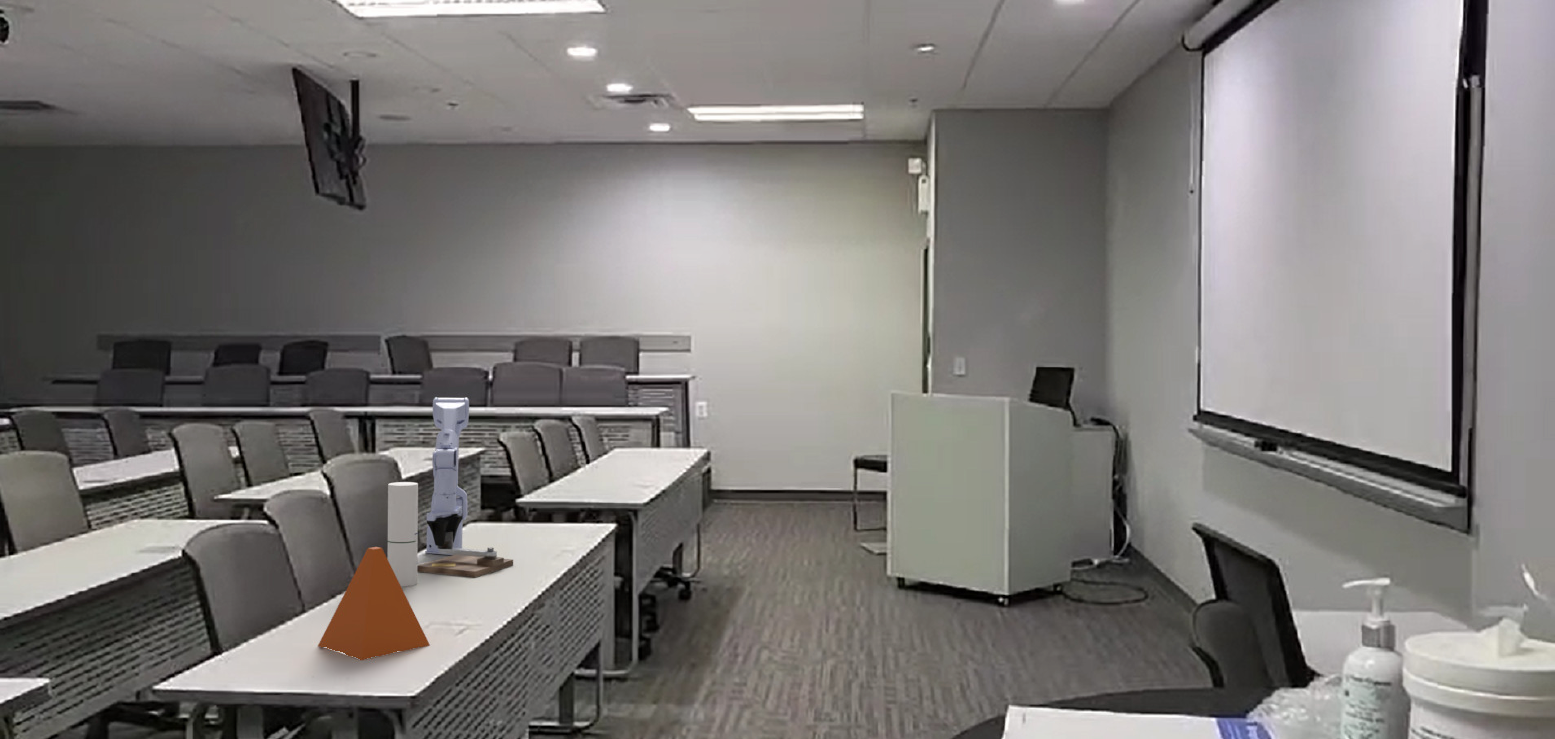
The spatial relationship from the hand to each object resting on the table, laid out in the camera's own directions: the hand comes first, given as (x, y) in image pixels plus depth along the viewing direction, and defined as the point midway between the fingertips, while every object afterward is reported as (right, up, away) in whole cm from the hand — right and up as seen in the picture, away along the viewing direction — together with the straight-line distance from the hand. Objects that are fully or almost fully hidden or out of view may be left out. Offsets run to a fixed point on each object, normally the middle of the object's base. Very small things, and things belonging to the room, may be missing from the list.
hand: (444, 544), depth 335 cm
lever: (+6, -3, -2) cm, 7 cm away
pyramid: (+8, -9, -83) cm, 84 cm away
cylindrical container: (-4, -7, -23) cm, 24 cm away
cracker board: (+6, -6, -2) cm, 9 cm away
